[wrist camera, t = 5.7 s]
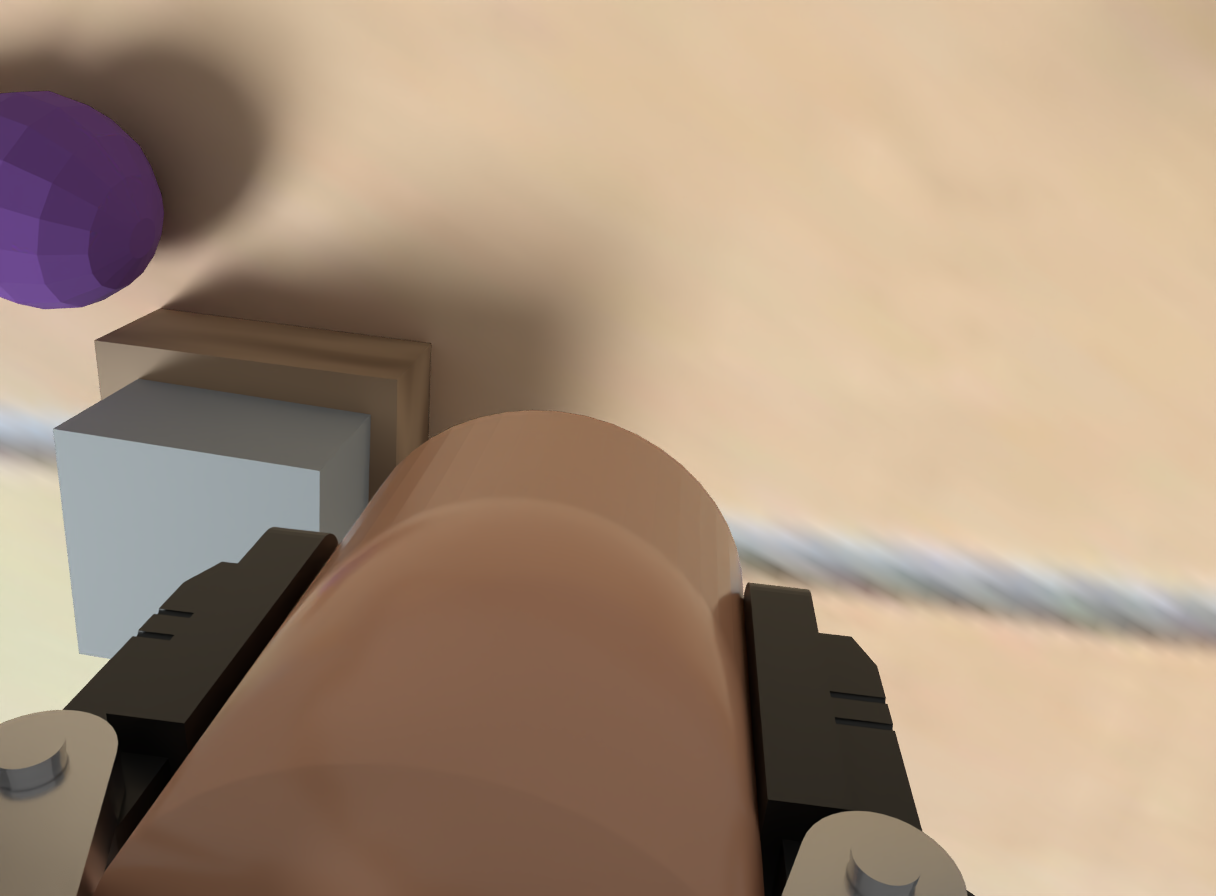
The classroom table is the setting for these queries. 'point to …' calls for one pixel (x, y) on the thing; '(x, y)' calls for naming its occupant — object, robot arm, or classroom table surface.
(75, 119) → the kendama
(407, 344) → the bottom block
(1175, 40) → the classroom table surface
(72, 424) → the top block
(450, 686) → the terracotta cylinder
